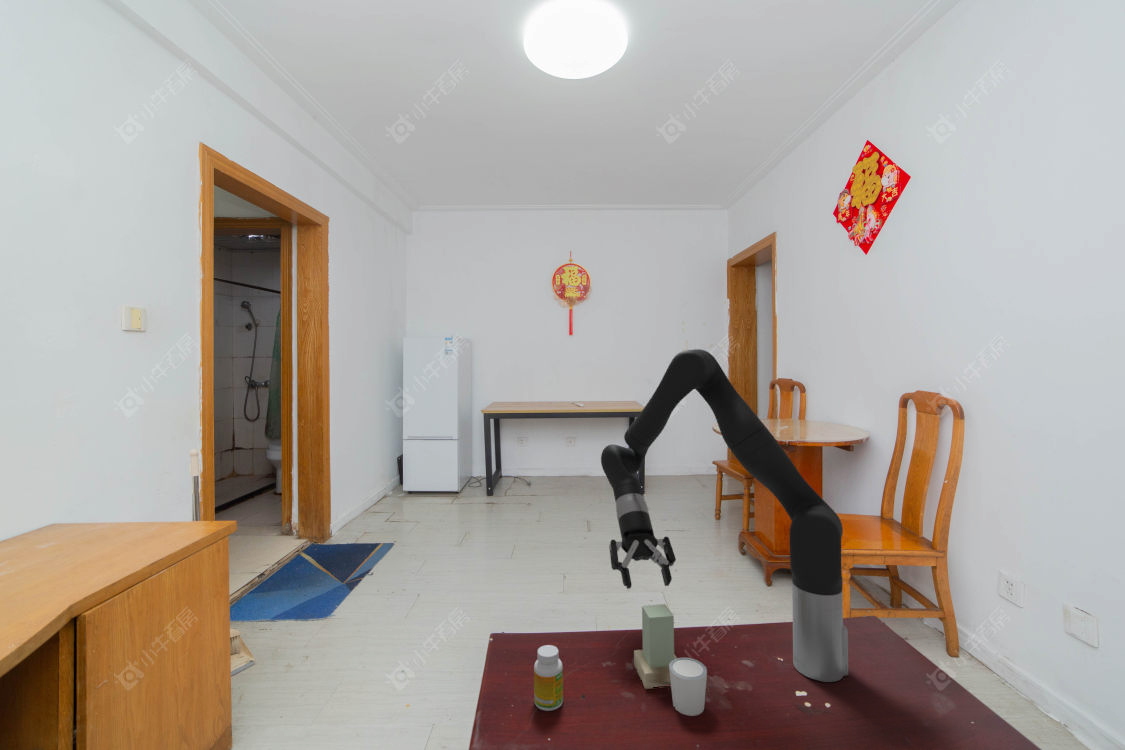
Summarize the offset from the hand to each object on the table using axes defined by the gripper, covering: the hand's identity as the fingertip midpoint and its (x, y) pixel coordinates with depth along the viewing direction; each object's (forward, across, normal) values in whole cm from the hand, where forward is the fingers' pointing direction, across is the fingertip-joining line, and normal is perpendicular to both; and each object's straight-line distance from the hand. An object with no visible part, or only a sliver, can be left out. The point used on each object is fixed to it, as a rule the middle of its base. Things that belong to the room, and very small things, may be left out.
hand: (648, 585), depth 105 cm
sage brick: (+13, 0, +5) cm, 14 cm away
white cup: (+22, +2, 0) cm, 22 cm away
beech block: (+15, 0, +7) cm, 17 cm away
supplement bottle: (+19, -23, +4) cm, 30 cm away
